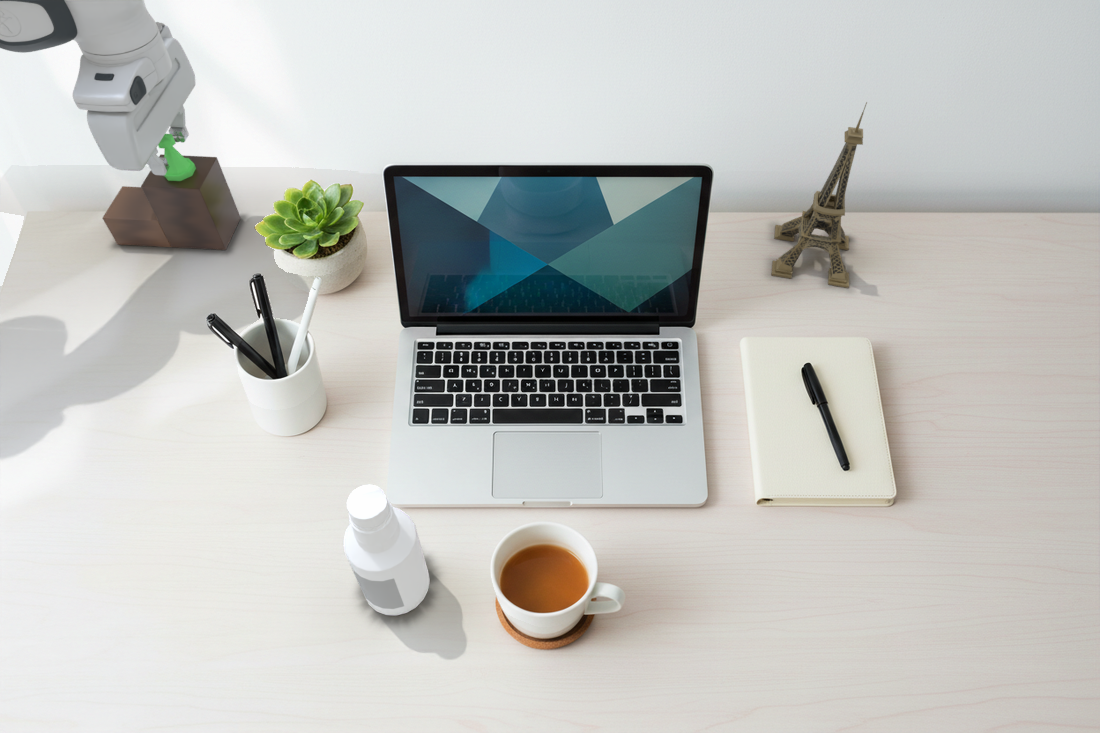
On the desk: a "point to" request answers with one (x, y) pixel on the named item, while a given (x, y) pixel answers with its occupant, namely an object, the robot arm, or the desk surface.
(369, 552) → the white bottle
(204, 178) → the stepped wooden block
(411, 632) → the desk surface
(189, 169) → the game piece
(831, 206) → the eiffel tower
